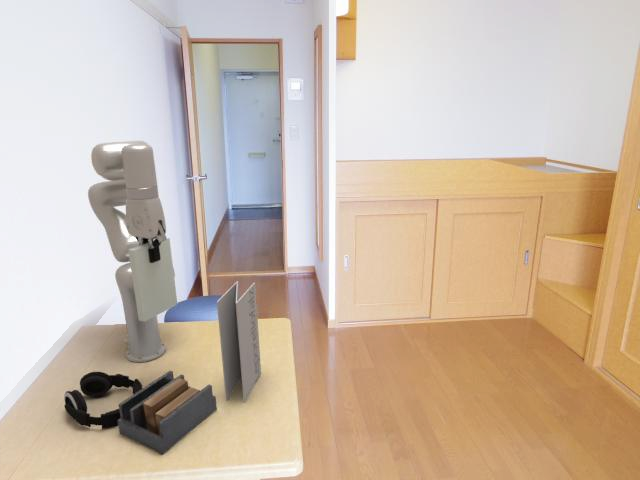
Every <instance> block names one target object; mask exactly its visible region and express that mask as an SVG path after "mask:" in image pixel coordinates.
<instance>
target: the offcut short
mask: <svg viewBox="0 0 640 480" xmlns="http://www.w3.org/2000/svg"><path fill="white" fill-rule="evenodd" d="M190 387H191V388H189V389H188V390H187V391H185V392H184V393H182V394H181V395H180V396H178V397H177V398H176V399H174V400H173V401H172V402H170V403H169V404H168V405H166V406H165V407H163V408H162V409H161V410H159V411H158V412H157V413H155V414H156V421H157V427H158V434H159V436H161V434H160V428H159V422H160V421H161V420H163V419H164V418H165V417H167V416H168V415H169V414H171V413H172V412H173V411H174V410H176V409H177V408H178V407H180V406H181V405H182V404H184V403H185V402H186V401H188V400H189V399H190V398H192V397H193V396H194V395H195V394H197V393H198V392H199V390H200V389H197V388H195V387H192V386H190ZM194 388H195V389H194Z"/></svg>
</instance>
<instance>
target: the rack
mask: <svg viewBox="0 0 640 480" xmlns="http://www.w3.org/2000/svg"><path fill="white" fill-rule="evenodd" d="M179 378H180V379H183V380H185V375H184V374H180V375H178V376H177V377H174V371H173V370H168V371H167V372H165V373H164V374H163V375H161V376H159V377H158V378H156V379H155V380H153V381H152V382H151V383H149V384H147V385H146V386H144V387H142V388H143V389H141V390H140V391H138V392H137V393H135V394H134V395H133V394H132V395H131V396H129V397H128V398H126V399H125V400H123V401H122V402H120V403H118V409H119V411H120V416H121V418H120V419H119V420H117V421H118V426H117V427H118V432H119V435H122V436H124V437H126V438H127V439H130V440H132V441H134V442H135V443H138V444H140V445H141V446H144V447H146V448H148V449H150V450H153V451H154V452H156V453H159V454H161V455H164V454H165V453H166V452H168V451H169V450H170V449H171V448H173V446H175V445H176V444H177V443H179V442H180V440H182V439H183V438H184V437H186V436H187V435H188V434H189V433H190V432H191V431H192V430H194V429H195V428H196V427H197V426H198V425H200V424H201V423H202V422H203V421H204V420H206V419H207V418H208V417H209V416H210V415H212V414H213V413H214V412H215V411H216V410H217V409H218V408H217V407H218V406H217V397H216V395H214V394H213V385H212V384H207V385H206V386H205V387H204V388H202V389H201V390H200V389H198V390H199V392H198V393H197V394H195V395H194V396H193V397H192V398H190V399H189V400H188V401H186V402H185V403H184V404H182V405H181V406H180V407H178V408H177V409H176V410H174V411H173V412H172V413H171V414H169V415H168V416H167V417H165V418H164V419H163V420H161V421H160V422H159V428H160V434H161V436H158V435H156V434H154V433H152V432H150V431H148V430H147V424H146V418H145V411H144V405H143V403H144V402H146V401H147V400H149V399H150V398H151V397H153V396H154V395H156V394H157V393H159V392H160V391H162V390H163V389H164V388H166V387H167V386H169V385H170V384H172V383H173V382H175V381H176V380H177V379H179ZM191 387H192V386H189V385H188V388H191ZM193 388H194V389H196V388H195V387H193ZM206 417H207V418H206ZM205 418H206V419H205Z"/></svg>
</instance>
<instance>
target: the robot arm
mask: <svg viewBox="0 0 640 480" xmlns="http://www.w3.org/2000/svg"><path fill="white" fill-rule="evenodd" d="M90 156H91V164H92V167H93V169H94V172H95V173H96V174H97V175H98V176H100V177H102V178H103V179H104V180H107V181H102V182H101V181H100V182H97V183H94V184H92V185H90V186H89V188H88V192H87V196H88V200H89V204H90V207H91V209H92V212H93V214H94V215H95V216H96V218H97V219H98V221H99V222H100V223H101V224H102V226H103V228H104V230H105V232H106V237H107V239H108V243H109V246H110V250H111V252H112V255H113V257H114V259H115V260H116V261H117V262H119V263H125V264H122V265H120V266H118V268H116V270H115V274H114V278H115V280H116V281H115V282H116V285H117V287H118V290H119V294H120V296H121V297H120V298H121V301H122V306H123V308H122V309H123V312H124V319H125V324H126V330H127V336H126V337H127V338H125V339H124V340H123V342H124V343H125V344H127V347H128V348H127V350H126V351H125V357H126V359H127V360H128V361H130V362H133V363H143V362H144V363H146V362H150V361H153V360H157V359H158V358H160V357H161V356H162V355H163V354H164V353H166V350H167V345H166V343H165V342H164V341H162V340H161V337H160V330H159V323H158V315H156V316H154V317H152V318H150V319H149V320H147V321H145V322H143V321H140V320H139V318H138V311H137V305H136V298H135V291H134V285H133V278H132V271H131V265H130V258H129V251H128V250H129V249H131V248H134V247H137V246H140V245H143V244H146V243H149V247H150V248H149V249H148V252H149V259H150V263H154V262H156V261H159V260H160V259H161V258H160V250H159V246H160V245H161V242H163V241H165V240H167V238H168V237H167V236H166V233H167V225H166V218H165V213H164V209H163V205H162V202H161V201H162V200H161V199H160V197H159V189H158V181H157V180H158V178H157V173H156V172H157V171H156V165H155V155H154V149H153V147H152V145H150V144H148V143H147V142H146V141H144V140H131V141H130V140H129V141H116V142H115V141H113V142H102V143H99V144H96V145H94V147H93V148H92V150H91V155H90ZM122 206H125V213H124V212H123V211H121V210H119V209H118V208H116V207H122ZM173 271H174V279H175V278H176V274H175V269H174V267H173Z"/></svg>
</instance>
